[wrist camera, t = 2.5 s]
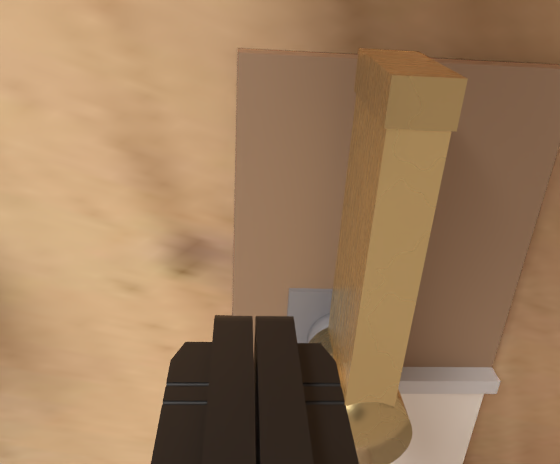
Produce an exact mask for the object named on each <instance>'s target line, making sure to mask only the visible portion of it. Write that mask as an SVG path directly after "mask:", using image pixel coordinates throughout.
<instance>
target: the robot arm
mask: <svg viewBox="0 0 560 464" xmlns="http://www.w3.org/2000/svg"><path fill="white" fill-rule="evenodd" d="M151 464H359V461H358V457H357V453H356V448H355V444H354V439H353V435H352V431H351V426H350V422H349V417H348V413H347V409H346V405H345V400H344V395H343V391H342V387H341V382H340V378H339V373H338V369H337V365H336V361H335V360H334V359H333V357H332V356H331V355H330V354H329V353H328V351H327V350H326V349H325V348H324V347H323V345H322V344H321V343H297V337H296V330H295V322H294V317H293V316H256V318H255V336H254V357H253V316H225V315H215V319H214V330H213V341H212V342H185V343H184V345H183V346H182V347H181V348H180V350H179V351H178V352H177V353H176V354H175V356H174V357H173V358H172V359H171V361H170V367H169V372H168V377H167V385H166V388H165V393H164V398H163V405H162V409H161V414H160V419H159V424H158V429H157V435H156V440H155V445H154V450H153V456H152V461H151Z"/></svg>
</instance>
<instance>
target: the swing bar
mask: <svg viewBox="0 0 560 464" xmlns="http://www.w3.org/2000/svg"><path fill="white" fill-rule="evenodd" d="M467 80H468V79H467V78H466V77H464V76H462V75H460V74H458V73H456V72H455V71H453V70H451V69H449V68H447V67H446V66H444V65H442V64H440V63H438V62H436V61H435V60H433V59H431V58H429V57H427V56H426V55H424V54H422V53H420V52H418V51H401V50H381V49H362V48H359V52H358V60H357V69H356V77H355V85H354V92H355V93H356V101H355V110H354V118H353V126H352V134H351V143H350V151H349V159H348V168H347V176H346V184H345V192H344V201H343V209H342V217H341V226H340V234H339V242H338V250H337V259H336V267H335V275H334V284H333V292H332V300H331V308H330V317H329V325H328V327H327V328H325V329H323V330H322V331H320V332H318V333H317V334H316V335H315V336H314V337H313V338H312V339H311V340H310V341H309V343H321V344H322V345H323V347H324V348H325V349H326V350H327V351H328V353H329V354H330V355H331V356H332V357H333V359H334V360H335V361H336V365H337V369H338V373H339V378H340V382H341V387H342V391H343V395H344V400H345V405H346V409H347V413H348V417H349V422H350V426H351V431H352V435H353V439H354V444H355V448H356V453H357V457H358V461H359V464H390V463H392V462H394V461H395V460H396V459H398V458H399V457H400V456H401V455H402V454H403V453H404V452H405V451H406V449H407V448H408V446H409V444H410V442H411V439H412V426H411V423H410V420H409V417H408V414H407V411H406V408H405V406H404V403H403V400H402V397H401V394H400V391H399V389H398V388H399V383H400V378H401V373H402V368H403V364H404V359H405V354H406V349H407V344H408V339H409V335H410V330H411V325H412V320H413V315H414V310H415V306H416V301H417V296H418V291H419V286H420V282H421V277H422V272H423V267H424V262H425V257H426V253H427V248H428V243H429V238H430V233H431V228H432V224H433V219H434V214H435V209H436V204H437V199H438V195H439V190H440V185H441V180H442V175H443V170H444V166H445V161H446V156H447V151H448V146H449V142H450V137H451V132H452V131H456V132H457V128H458V123H459V118H460V113H461V109H462V104H463V99H464V95H465V90H466V85H467Z"/></svg>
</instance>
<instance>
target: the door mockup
mask: <svg viewBox="0 0 560 464" xmlns="http://www.w3.org/2000/svg"><path fill="white" fill-rule="evenodd" d="M431 59H433V60H435V61H436V62H438V63H440V64H442V65H444V66H446V67H447V68H449V69H451V70H453V71H455V72H456V73H458V74H460V75H462V76H464V77H466V78H467V79H468V80H467V85H466V90H465V95H464V99H463V104H462V109H461V113H460V118H459V123H458V128H457V132H456V131H452V132H451V137H450V142H449V146H448V151H447V156H446V161H445V166H444V170H443V175H442V180H441V185H440V190H439V195H438V199H437V204H436V209H435V214H434V219H433V224H432V228H431V233H430V238H429V243H428V248H427V253H426V257H425V262H424V267H423V272H422V277H421V282H420V286H419V291H418V296H417V301H416V306H415V310H414V315H413V320H412V325H411V330H410V335H409V339H408V344H407V349H406V354H405V359H404V364H403V368H402V373H401V378H400V383H399V388H398V389H399V391H400V394H401V397H402V400H403V403H404V406H405V408H406V411H407V414H408V417H409V420H410V423H411V426H412V439H411V442H410V444H409V446H408V448H407V449H406V451H405V452H404V453H403V454H402V455H401V456H400V457H399V458H398V459H396V460H395V461H394V462H392V463H390V464H463V461H464V458H465V455H466V451H467V448H468V445H469V442H470V438H471V435H472V432H473V428H474V425H475V422H476V419H477V415H478V412H479V409H480V405H481V402H482V399H483V396H484V394H497V391H498V388H499V385H500V382H501V381H500V380H499V378H498V376H497V375H496V373H495V371H494V370H493V368H492V366H493V363H494V360H495V356H496V353H497V350H498V346H499V343H500V340H501V337H502V333H503V330H504V327H505V323H506V320H507V317H508V314H509V310H510V307H511V304H512V300H513V297H514V294H515V291H516V287H517V284H518V281H519V277H520V274H521V271H522V268H523V264H524V261H525V258H526V254H527V251H528V248H529V245H530V241H531V238H532V235H533V231H534V228H535V225H536V222H537V218H538V215H539V212H540V208H541V205H542V202H543V199H544V195H545V192H546V189H547V185H548V182H549V179H550V176H551V172H552V169H553V166H554V162H555V159H556V156H557V153H558V149H559V146H560V65H557V64H538V63H518V62H498V61H479V60H459V59H439V58H431ZM357 60H358V54H341V53H321V52H302V51H282V50H262V49H243V48H238V61H237V110H236V159H235V208H234V257H233V306H232V316H253V357H254V336H255V318H256V316H293V317H294V322H295V330H296V337H297V343H309V341H310V340H311V339H312V338H313V337H314V336H315V335H316V334H317V333H318V332H320V331H322V330H323V329H325V328H327V327H328V325H329V317H330V308H331V300H332V292H333V284H334V275H335V267H336V259H337V250H338V242H339V234H340V226H341V217H342V209H343V201H344V192H345V184H346V176H347V168H348V159H349V151H350V143H351V134H352V126H353V118H354V110H355V101H356V93H355V92H354V85H355V77H356V69H357Z"/></svg>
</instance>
